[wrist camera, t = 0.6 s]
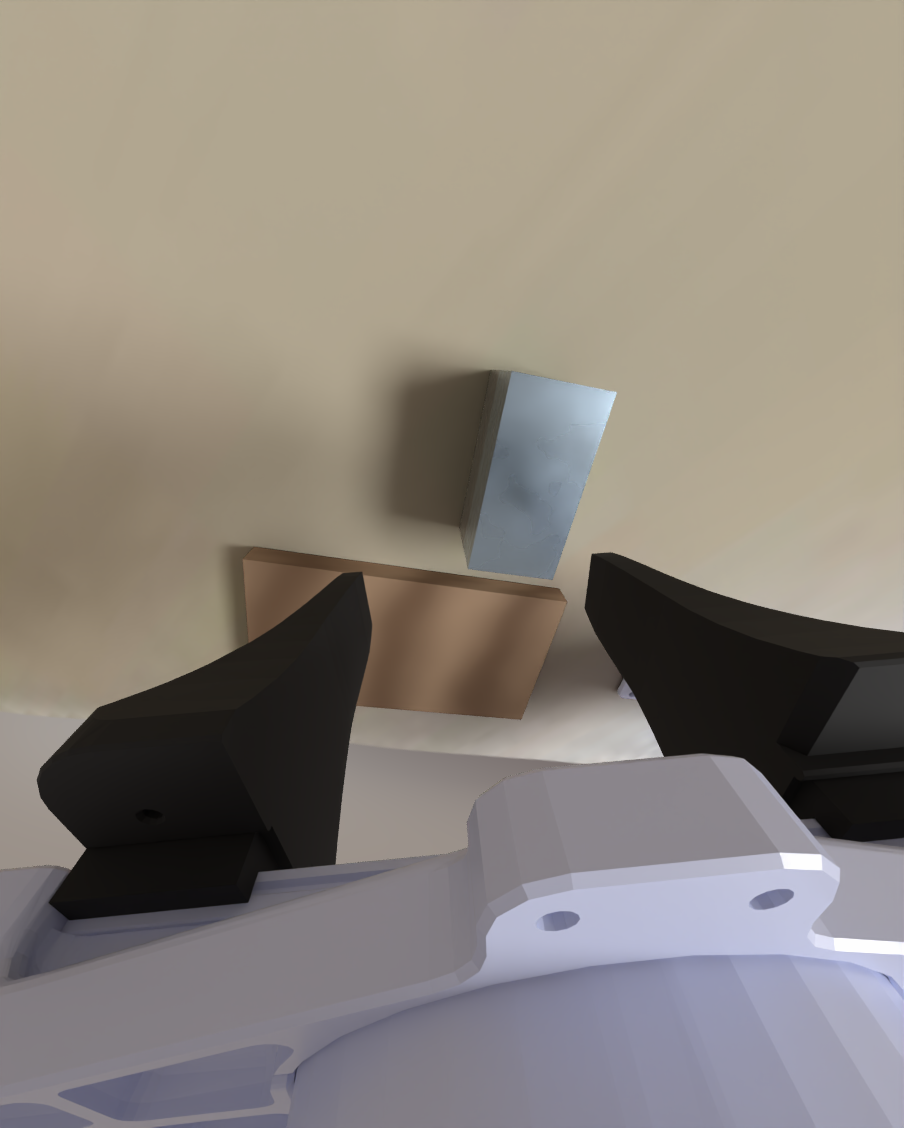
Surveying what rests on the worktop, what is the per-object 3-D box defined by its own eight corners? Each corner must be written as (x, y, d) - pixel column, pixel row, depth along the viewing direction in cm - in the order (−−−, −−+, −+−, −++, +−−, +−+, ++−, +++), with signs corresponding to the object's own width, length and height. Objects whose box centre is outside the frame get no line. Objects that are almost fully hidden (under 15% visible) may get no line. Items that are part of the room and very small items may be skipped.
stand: (559, 588, 23) (567, 602, 22) (516, 702, 28) (521, 719, 27) (254, 546, 21) (242, 559, 20) (261, 679, 25) (252, 697, 24)
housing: (570, 386, 18) (616, 392, 14) (526, 536, 22) (552, 579, 17) (490, 369, 18) (511, 370, 13) (459, 526, 21) (467, 569, 17)
